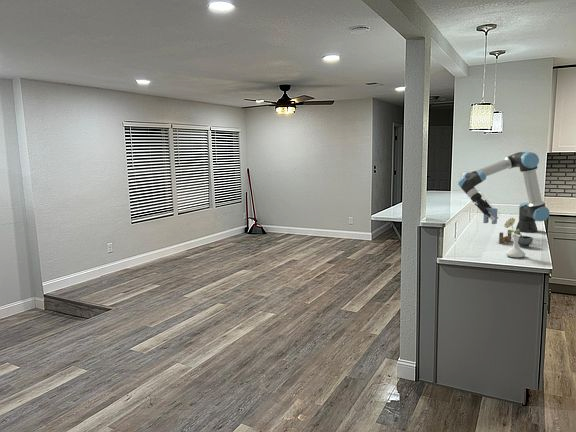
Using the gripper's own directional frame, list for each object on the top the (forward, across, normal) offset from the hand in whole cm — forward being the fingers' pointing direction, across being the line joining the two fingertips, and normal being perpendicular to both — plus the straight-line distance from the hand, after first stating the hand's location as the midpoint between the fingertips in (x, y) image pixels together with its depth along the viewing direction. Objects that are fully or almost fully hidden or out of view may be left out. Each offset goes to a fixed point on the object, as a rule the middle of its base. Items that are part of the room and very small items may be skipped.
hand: (495, 219), depth 316 cm
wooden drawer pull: (+17, 0, -6) cm, 18 cm away
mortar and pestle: (+27, +6, +5) cm, 28 cm away
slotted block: (0, 0, -5) cm, 5 cm away
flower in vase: (+33, +36, +10) cm, 49 cm away
